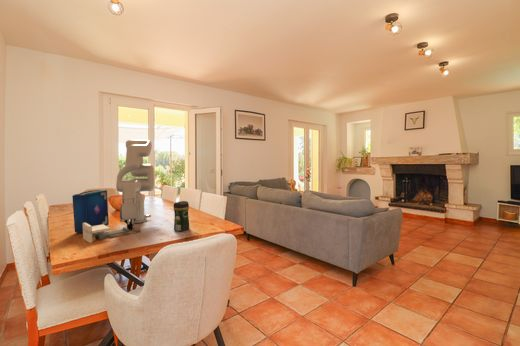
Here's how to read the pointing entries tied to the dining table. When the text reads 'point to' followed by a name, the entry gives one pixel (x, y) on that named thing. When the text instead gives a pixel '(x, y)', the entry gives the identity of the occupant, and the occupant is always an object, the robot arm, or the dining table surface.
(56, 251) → the dining table surface
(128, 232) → the guide rails
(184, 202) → the coffee jar
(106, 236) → the slate gray sliding drawer
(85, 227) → the shelf
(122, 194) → the robot arm
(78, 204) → the book
